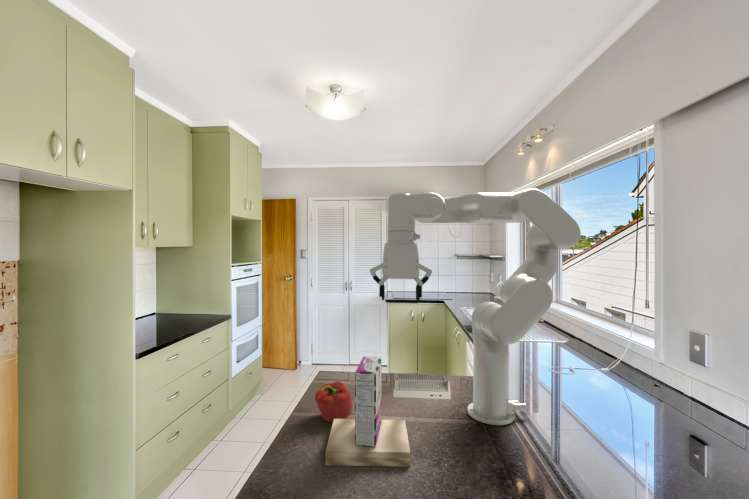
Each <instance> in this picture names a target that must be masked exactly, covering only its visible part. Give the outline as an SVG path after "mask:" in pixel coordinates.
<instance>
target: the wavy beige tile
mask: <svg viewBox="0 0 749 499" xmlns="http://www.w3.org/2000/svg"><path fill="white" fill-rule="evenodd" d="M381 421H382V422H381V426H380V431H379V435H378V440H377V444H376V447H367V446H357V445H355V418H346V419H334V421H333V422H332V425H331V429H330V434H329V436H328V441H327V445H326V447H325V464H324V465H325V466H350V467H352V466H354V467H357V466H358V467H402V468H405V467H407V468H410V467H411V449H410V448H411V447H410V443H409V438H408V437H409V436H408V430H407V425H406V419H381Z"/></svg>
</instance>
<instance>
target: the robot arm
mask: <svg viewBox="0 0 749 499" xmlns="http://www.w3.org/2000/svg"><path fill="white" fill-rule="evenodd" d="M416 221H417V222H419V223H421V224H455V223H456V224H458V223H459V224H461V223H462V224H477V223H478V224H482V223H483V224H484V223H491V224H492V223H500V224H501V223H502V224H504V223H505V224H509V223H510V224H511V223H512V224H514V223H516V224H518V223H524V222H530V223H531V224H532V225H531V226H530V228H529V229H528V231H527V236H526V237H527V243H528V255H527V257H526V258H525V260H524V261H523V262H522V263H521V265H520V266H519V267H518V268H517V269H516V270H515V271H514V272H513V273H512V274H511V275H510V276H509V277H508V278H507V279H506V280H505V281H504V282H503V284H502V285H501V287H500V289H499V296H500V300H501V301H502V302H503V304H499V303H497V302H494V301H484V302H481V303H479V304H478V305H476V306H475V308H474V310H473V311H472V314H471V331H472V340H473V341H472V342H473V370H472V373H473V379H472V380H473V381H472V383H473V384H472V385H473V386H472V387H473V389H472V392H473V393H472V401H473V402H471V403H469V404H468V405H467V409H466V410H467V414H468V415H469V416H470V417H471V418H472V419H473V420H476V421H478V422H480V423H482V424H487V425H493V426H506V425H509V424H512V423H513V422H514V421H515V416H516V415H515V412H516V411H519V412H526V411H527V409H528V407H527V404H526V403H525V402H523V403H522V402H519V401H518V400H517V399H515V400H512V399H511V400H510V399H509V398H510V396H509V395H510V348H509V345H512V344H516V343H518V342H519V341H520V340H521V339H523V338H524V337H525V335H527V334H528V332H530V331H531V329H532V328H533V327H535V325H536V324H537V323H538V322H539V321H540V320H541V319H542V318H543V317H544V316H545V314H546V313H547V312H548V311H549V309H550V308H551V305H552V302H553V300H554V299H553V298H554V296H553V295H554V293H553V290H552V287H551V286H550V284H549V282H551V279H552V278H554V276H555V274H556V273H557V271H558V267H559V266H558V265H559V258H558V256H559V255H558V250H561V251H562V250H568V249H571V248H572V247H575V245H577V244H578V243H579V241H580V239H581V235H582V234H581V228H580V226H579V224H578V223H577V221H576V219H575V218H573V216H572V215H570V214H569V213H568V211H566V210H565V209H564V208H563V207H561V205H559V204H558V202H556V201H555V200H554V199H553V198H551V196H549V195H548V194H547V193H545V191H542V190H540V189H538V188H533V187H532V188H526V189H523V190H521V191H517V192H472V193H469V194H465V195H461V196H457V197H449V198H443V197H442V195H440V194H439V193H436V192H431V191H430V192H421V193H407V192H398V193H397V192H396V193H392V194H390V195H389V197H388V202H387V242H385V243H384V246H383V247H384V248H383V254H382V263H380V264H378V265H376V266H374V267H372V268H369V273H370V275H371V276H372V278H373V280H374V282H376V284H378V285H379V287H378V288H379V292H378V294H379V296H378V297H379V298H381V301H385V300H386V299H385V297H386V296H385V291H386V289H385V288H386V286H385V283H386V281H387V280H414V281H415V283H416V286H415V300H416V301H419V302H420V299H421V298H423V286H424V285H425V284H426V283H427V281H429V279H430V276H431V275H432V273H433V271H432V270H433V269H430V268H428V267H426V266H424V265H423V264H421V263H420V256H419V255H420V254H419V249H418V243H416V240H421V234H417V233H416V232H415V231H416V230H415V229H416ZM380 270H381V271H382V272H381V273H382V277H381V279H380V277H378V275H377V271H380ZM420 270H421V271H422V272H425V274H424V275H423V277H422V278H419V277H420Z"/></svg>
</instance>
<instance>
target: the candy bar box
mask: <svg viewBox="0 0 749 499" xmlns="http://www.w3.org/2000/svg"><path fill="white" fill-rule="evenodd" d="M354 376H355V377H354V384H355V385H354V401H355V402H354V404H355V405H354V406H355V408H354V409H355V410H354V416H355V417H354V419H355V445H357V446H367V447H376V444H377V440H378V435H379V431H380V426H381V422H382V421H381V420H382V357H380V356H367V355H366V356H362V358H361V361H360V362H359V364H358V366H357V368H356V370H355V371H354Z"/></svg>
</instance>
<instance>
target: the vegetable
mask: <svg viewBox="0 0 749 499" xmlns="http://www.w3.org/2000/svg"><path fill="white" fill-rule="evenodd" d="M314 398H315V399H314V400H315V403H316V405H317V408H318V410H319V412H320V415H321V417H322V418H323V420H324V421H325V422H329V423H333V421H334V419H348V418H349V417H350V415H351V413H352V410H353V400H352V395H351V391H350V390H349V388H348V386H347V385H346V384H345V383H344V382H342V381H334V382H331V383H330V382H329V383H325V384H323V385H322V386H321V387H320V388H318V389H317V390H316V392H315V394H314Z"/></svg>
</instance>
